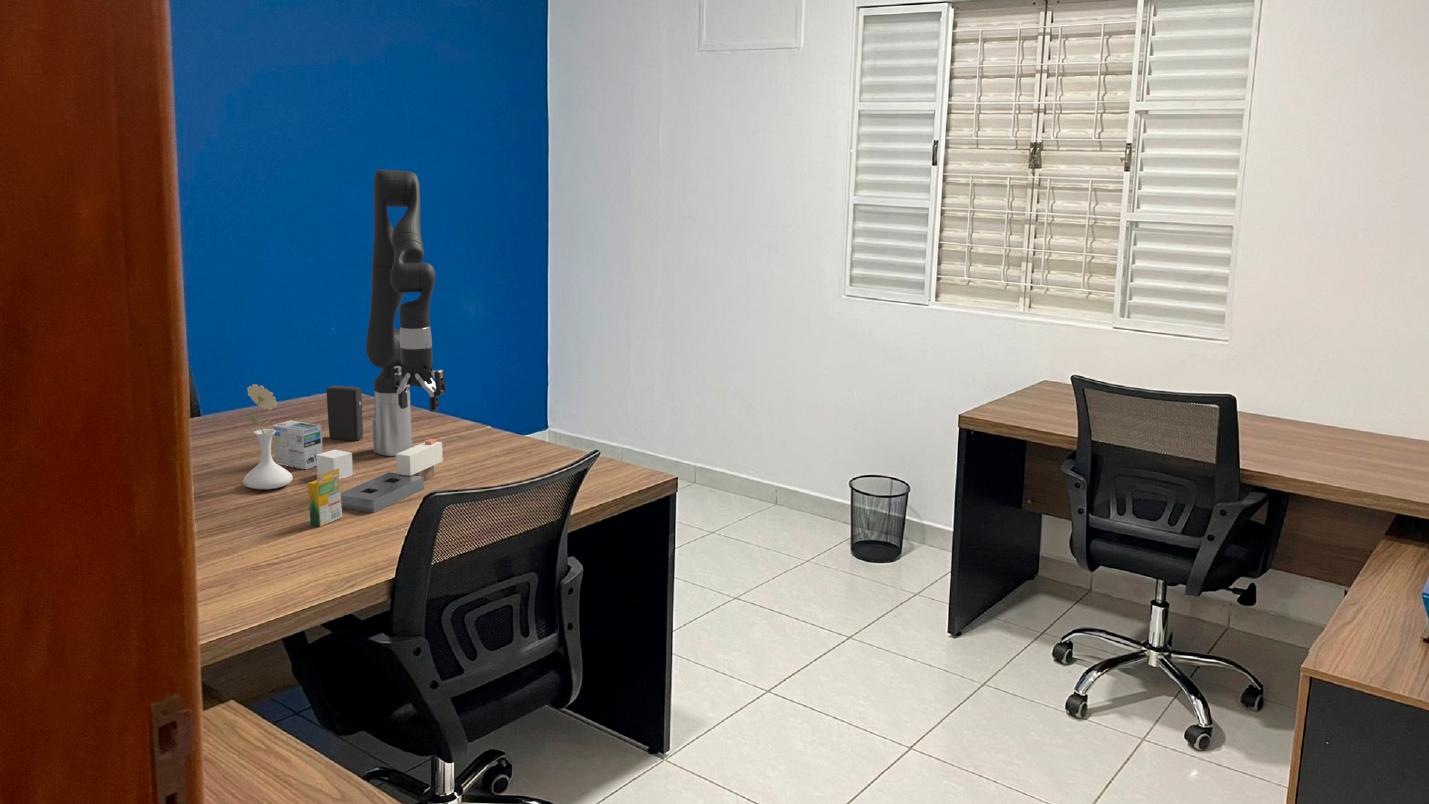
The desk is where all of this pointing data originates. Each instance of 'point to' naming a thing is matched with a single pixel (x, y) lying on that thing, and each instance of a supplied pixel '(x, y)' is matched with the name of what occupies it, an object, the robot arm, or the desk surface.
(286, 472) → the flower in vase
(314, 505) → the crayon box
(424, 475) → the walnut stand
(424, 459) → the white plug-in block
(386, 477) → the mounting plate
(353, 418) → the black upright block
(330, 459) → the white cube
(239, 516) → the desk surface
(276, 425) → the light bulb box
